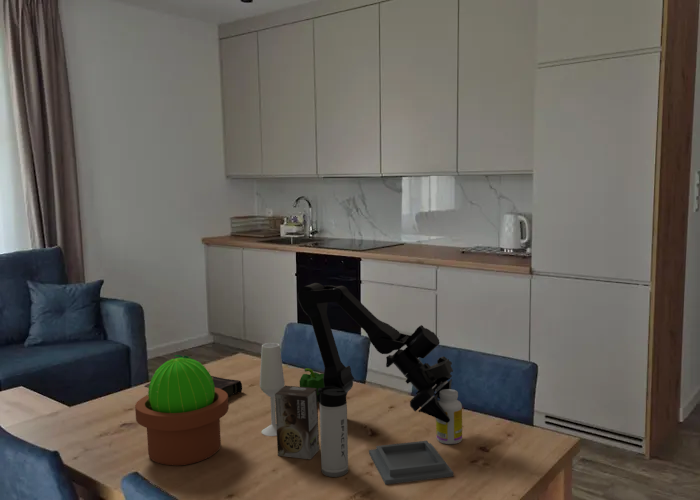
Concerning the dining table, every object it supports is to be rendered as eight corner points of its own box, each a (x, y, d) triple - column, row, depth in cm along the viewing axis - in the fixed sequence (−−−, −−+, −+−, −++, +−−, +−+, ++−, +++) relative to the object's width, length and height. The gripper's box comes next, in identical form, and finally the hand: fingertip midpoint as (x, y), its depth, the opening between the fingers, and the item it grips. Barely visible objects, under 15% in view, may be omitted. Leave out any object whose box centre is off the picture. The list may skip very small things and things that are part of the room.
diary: (184, 383, 213) (184, 369, 213) (242, 394, 201) (242, 379, 201) (142, 400, 197) (142, 385, 196) (203, 413, 185) (202, 396, 184)
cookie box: (320, 449, 157) (318, 387, 155) (310, 460, 151) (308, 396, 149) (287, 445, 160) (285, 384, 158) (276, 455, 154) (274, 392, 152)
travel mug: (319, 465, 148) (317, 384, 146) (347, 464, 149) (345, 383, 146) (320, 478, 142) (318, 393, 140) (349, 476, 142) (347, 392, 140)
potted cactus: (186, 478, 143) (180, 373, 140) (120, 459, 154) (113, 361, 151) (246, 442, 162) (242, 349, 159) (184, 427, 173) (179, 340, 170)
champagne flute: (290, 428, 171) (287, 343, 168) (278, 437, 165) (274, 349, 162) (270, 424, 174) (266, 340, 171) (256, 433, 168) (253, 347, 165)
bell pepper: (332, 398, 194) (331, 366, 192) (317, 406, 187) (316, 374, 186) (310, 393, 198) (310, 363, 197) (295, 401, 191) (294, 370, 190)
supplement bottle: (461, 434, 164) (461, 387, 163) (463, 445, 158) (463, 396, 156) (435, 434, 165) (435, 387, 163) (436, 445, 158) (436, 396, 157)
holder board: (385, 484, 138) (385, 473, 138) (369, 453, 154) (368, 444, 154) (453, 476, 141) (453, 465, 141) (430, 447, 157) (430, 437, 157)
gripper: (421, 359, 152) (465, 409, 148) (444, 340, 169) (484, 385, 165) (392, 386, 156) (434, 435, 153) (417, 366, 173) (456, 409, 169)
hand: (453, 415), depth 160 cm, fingers open, 9 cm apart
